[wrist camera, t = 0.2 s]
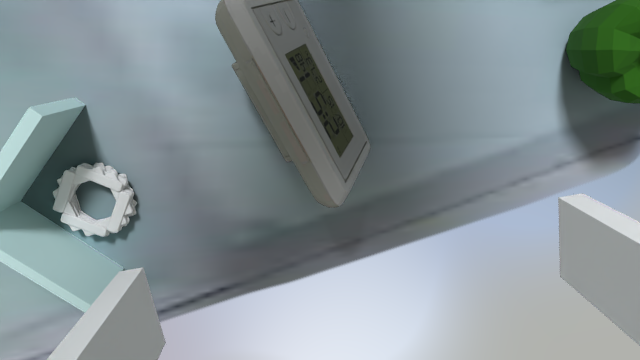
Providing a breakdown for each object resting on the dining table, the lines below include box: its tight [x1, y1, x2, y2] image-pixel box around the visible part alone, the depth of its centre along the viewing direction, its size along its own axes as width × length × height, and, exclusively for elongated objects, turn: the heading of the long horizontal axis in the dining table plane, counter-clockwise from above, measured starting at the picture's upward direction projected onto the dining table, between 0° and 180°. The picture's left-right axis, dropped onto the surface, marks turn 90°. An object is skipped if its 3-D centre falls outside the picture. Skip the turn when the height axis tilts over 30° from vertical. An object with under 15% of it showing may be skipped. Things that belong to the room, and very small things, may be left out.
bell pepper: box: [566, 0, 640, 103], centre depth 35 cm, size 8×8×10 cm
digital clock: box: [215, 0, 370, 208], centre depth 35 cm, size 16×9×11 cm, turn 16°
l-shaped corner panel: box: [0, 97, 137, 312], centre depth 39 cm, size 12×12×8 cm
